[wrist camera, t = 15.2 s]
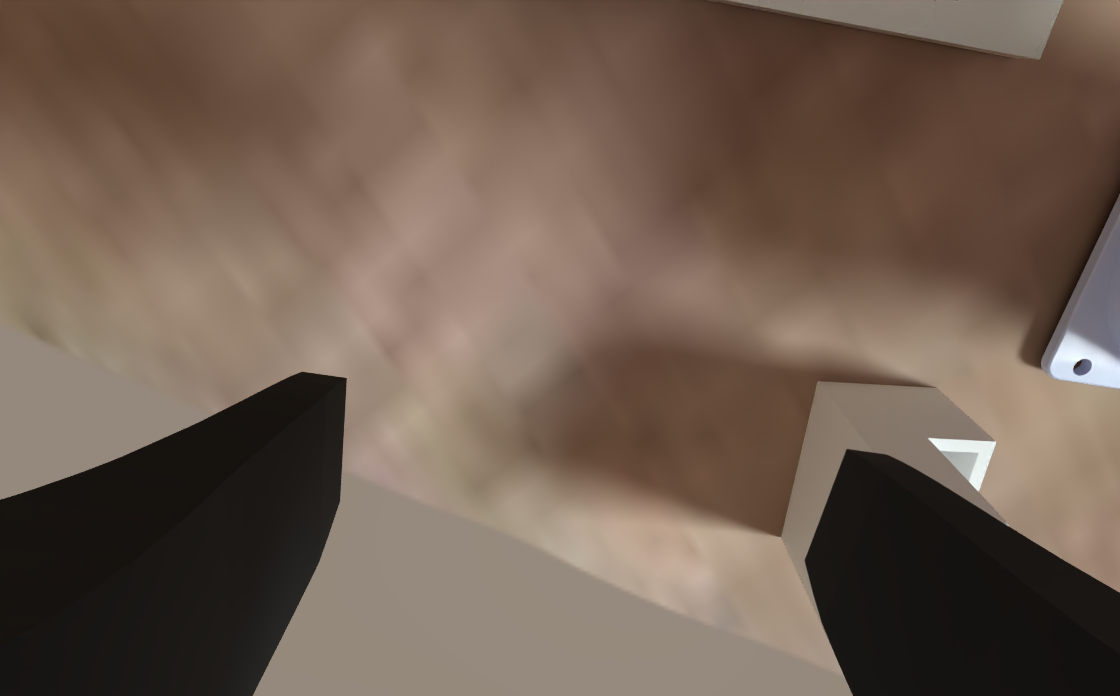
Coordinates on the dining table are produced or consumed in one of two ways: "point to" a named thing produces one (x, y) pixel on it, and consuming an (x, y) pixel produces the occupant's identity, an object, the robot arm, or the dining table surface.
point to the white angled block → (881, 450)
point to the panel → (935, 20)
